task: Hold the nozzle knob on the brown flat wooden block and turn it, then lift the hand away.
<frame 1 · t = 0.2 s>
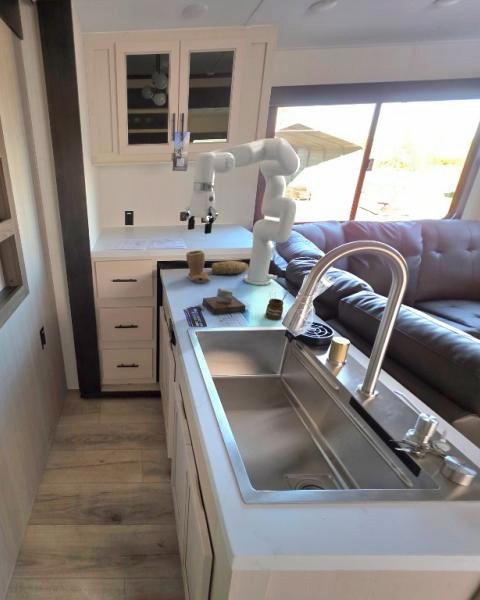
hand: (199, 231, 129), 31 cm above the counter, tool pointing down, fingers open, 9 cm apart
tan fabric boot shape: (196, 279, 167), on the counter
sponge: (229, 273, 176), on the counter
utensil holder: (273, 317, 126), on the counter
brown flat wooden block: (222, 308, 134), on the counter
nozzle knob: (224, 295, 132), point 6 cm above the counter, hinge at -30.0°
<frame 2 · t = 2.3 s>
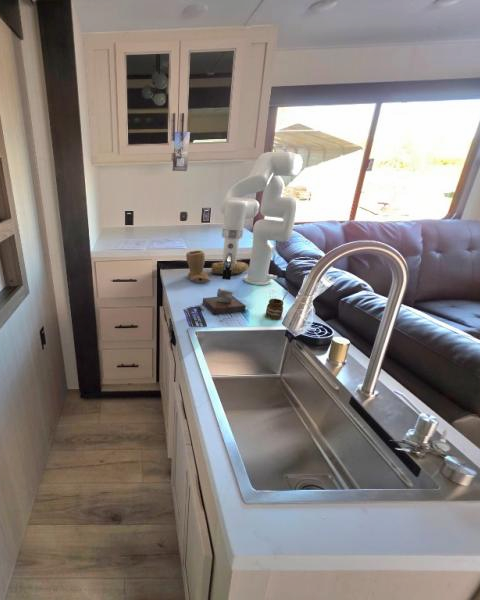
hand: (226, 275, 128), 15 cm above the counter, tool pointing down, fingers open, 9 cm apart
nothing on the counter moved.
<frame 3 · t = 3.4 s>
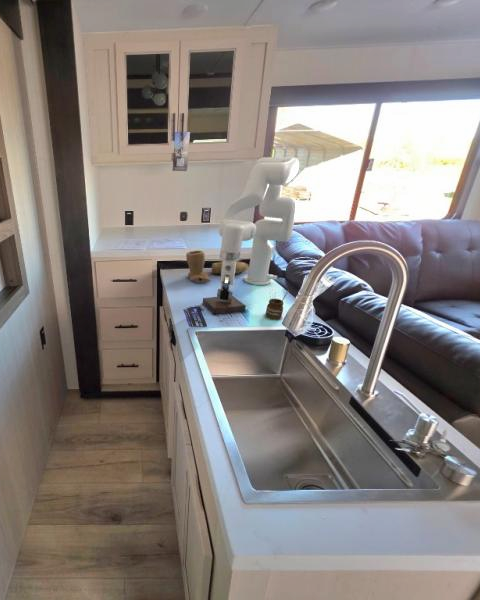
hand: (224, 295, 131), 6 cm above the counter, tool pointing down, fingers open, 9 cm apart
nothing on the counter moved.
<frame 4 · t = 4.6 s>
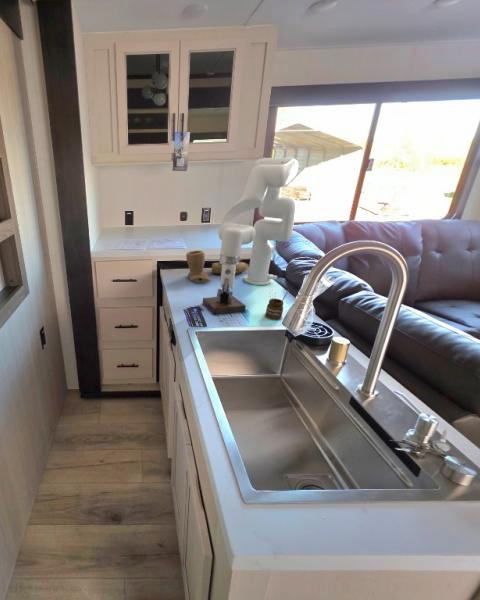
hand: (223, 300, 133), 3 cm above the counter, tool pointing down, fingers closed on nozzle knob, 2 cm apart
nozzle knob: (224, 295, 132), point 6 cm above the counter, hinge at -30.0°, touching gripper
everything else where it was.
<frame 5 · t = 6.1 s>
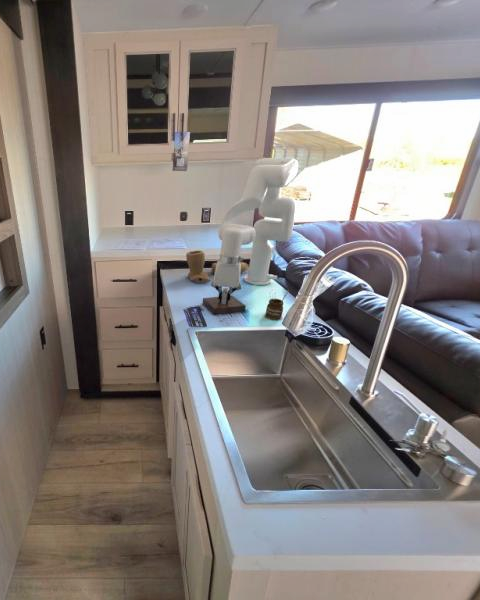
hand: (223, 301, 133), 3 cm above the counter, tool pointing down, fingers closed
nozzle knob: (224, 295, 132), point 6 cm above the counter, hinge at 59.2°
everything else where it was.
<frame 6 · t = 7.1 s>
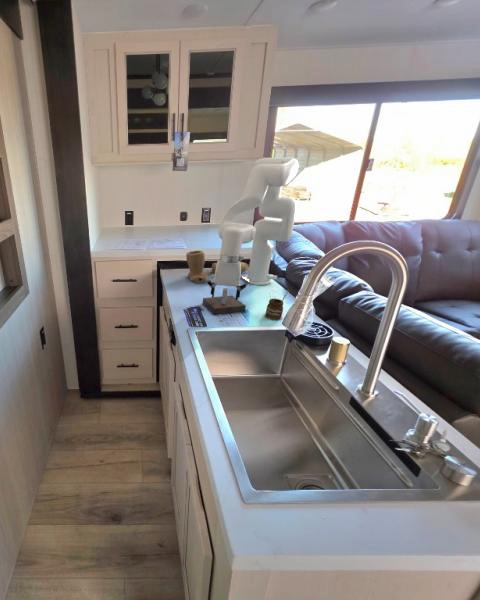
hand: (224, 297, 132), 5 cm above the counter, tool pointing down, fingers open, 9 cm apart
nothing on the counter moved.
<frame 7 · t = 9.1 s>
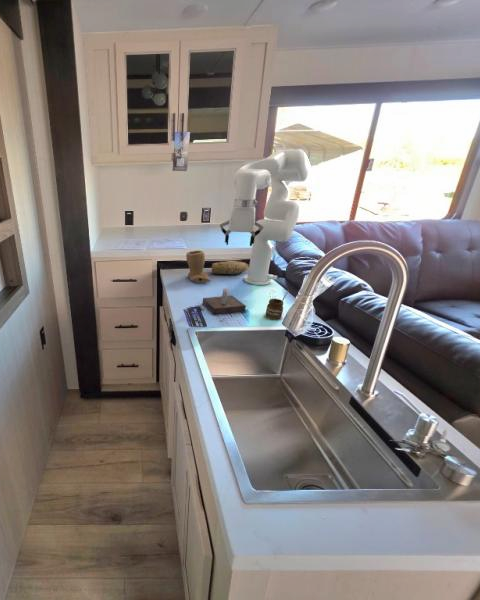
hand: (238, 244, 135), 25 cm above the counter, tool pointing down, fingers open, 9 cm apart
nothing on the counter moved.
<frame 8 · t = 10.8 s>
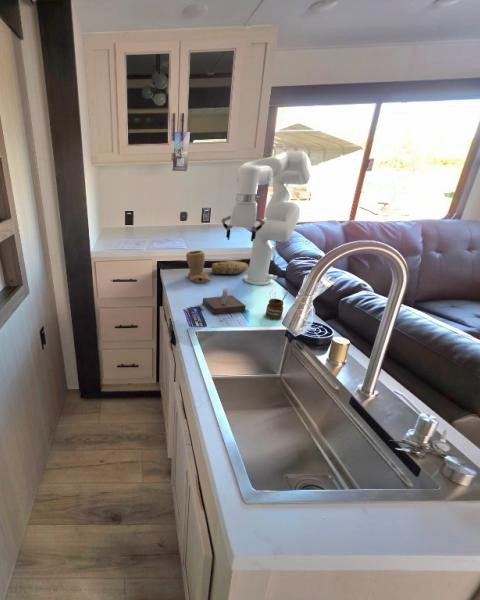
hand: (240, 240, 135), 26 cm above the counter, tool pointing down, fingers open, 9 cm apart
nothing on the counter moved.
at the end: nozzle knob at +59° (first picture: -30°); the gripper is holding nothing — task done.
